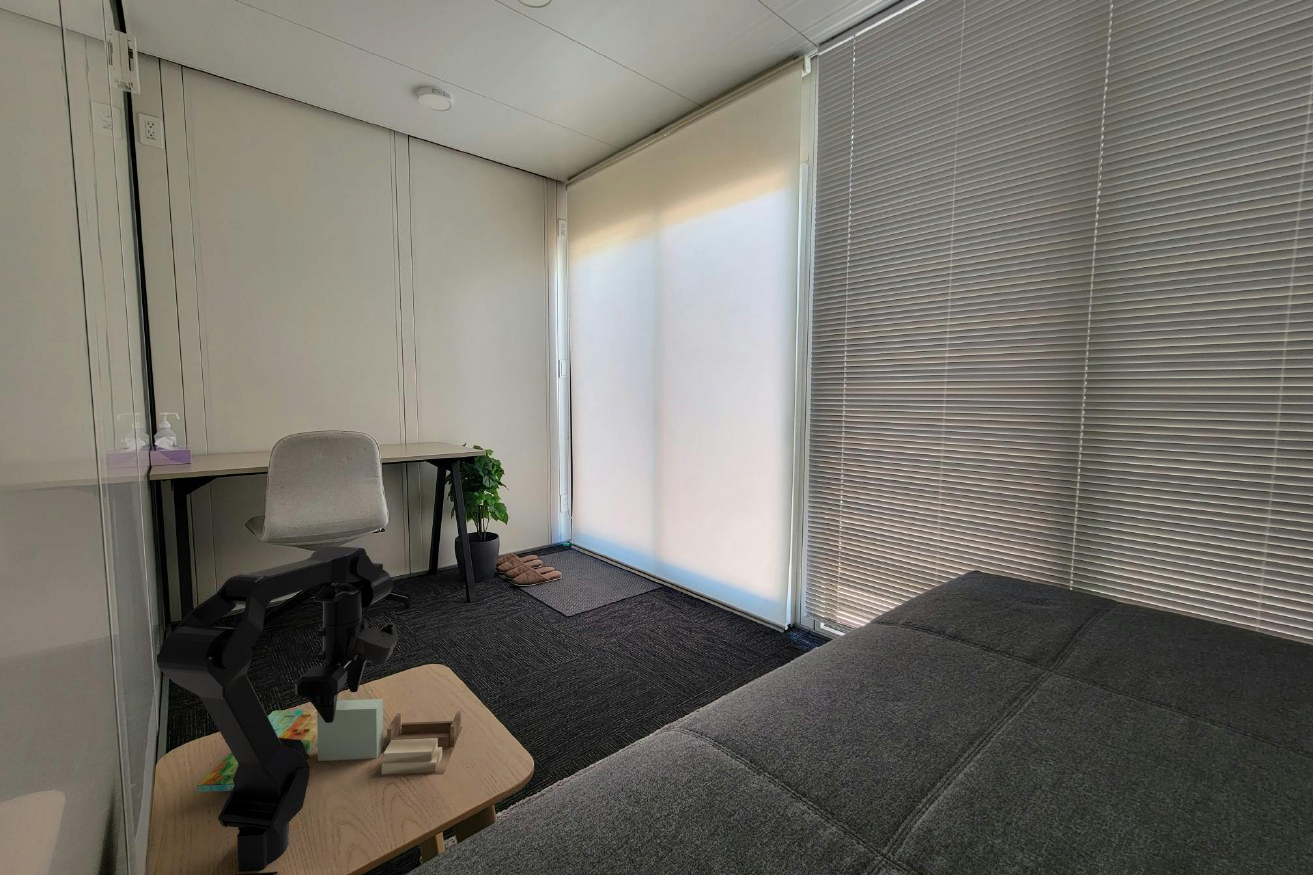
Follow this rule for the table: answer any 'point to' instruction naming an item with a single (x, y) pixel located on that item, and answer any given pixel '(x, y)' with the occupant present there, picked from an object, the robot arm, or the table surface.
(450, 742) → the rack
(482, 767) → the table surface
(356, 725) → the board
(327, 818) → the table surface
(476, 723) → the table surface
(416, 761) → the offcut stack
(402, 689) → the table surface
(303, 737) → the puzzle game
